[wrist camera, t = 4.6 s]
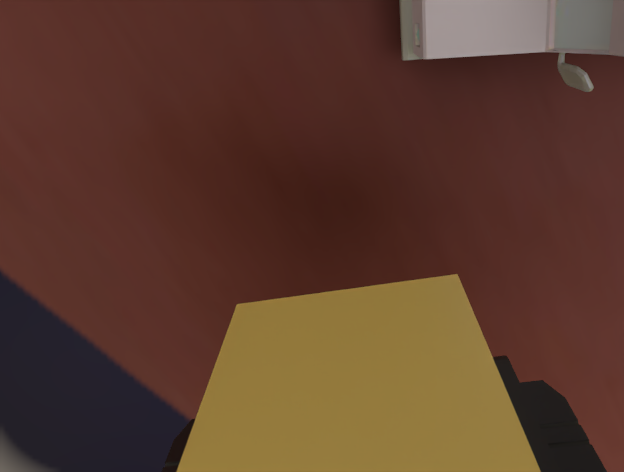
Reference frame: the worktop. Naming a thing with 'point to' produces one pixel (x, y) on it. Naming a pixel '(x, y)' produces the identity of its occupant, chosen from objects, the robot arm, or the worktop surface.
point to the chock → (358, 387)
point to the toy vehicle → (513, 30)
